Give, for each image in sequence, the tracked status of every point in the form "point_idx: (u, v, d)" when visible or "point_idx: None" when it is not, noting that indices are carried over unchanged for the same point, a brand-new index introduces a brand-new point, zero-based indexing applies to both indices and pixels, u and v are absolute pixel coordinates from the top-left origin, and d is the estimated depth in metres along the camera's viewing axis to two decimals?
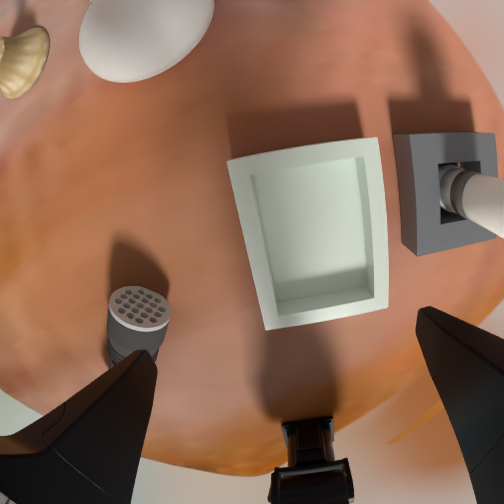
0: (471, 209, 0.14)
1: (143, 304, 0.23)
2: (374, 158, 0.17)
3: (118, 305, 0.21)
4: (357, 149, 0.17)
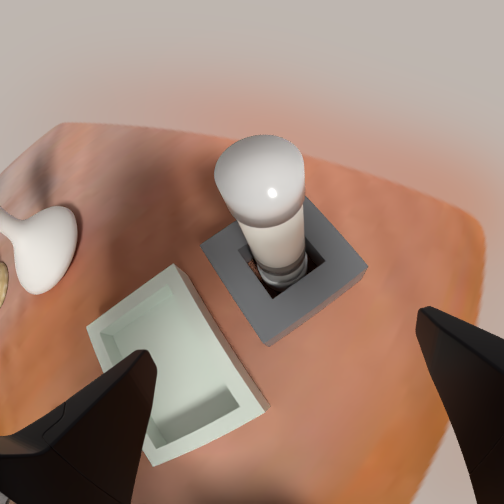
0: (255, 255, 0.18)
1: None
2: (175, 280, 0.22)
3: None
4: (161, 280, 0.22)
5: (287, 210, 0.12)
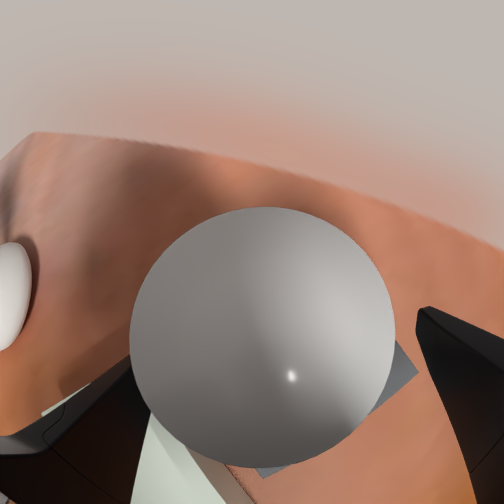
0: None
1: None
2: None
3: None
4: None
5: None
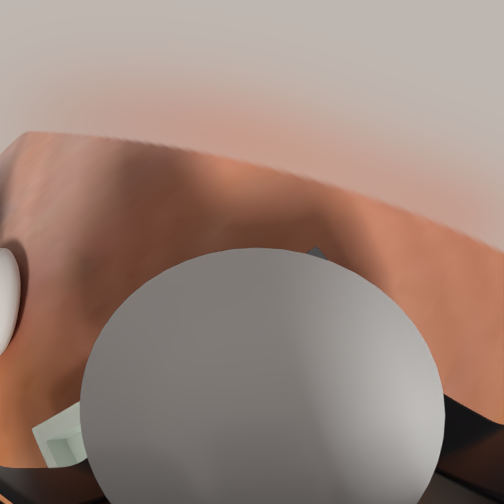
0: None
1: None
2: None
3: None
4: None
5: None
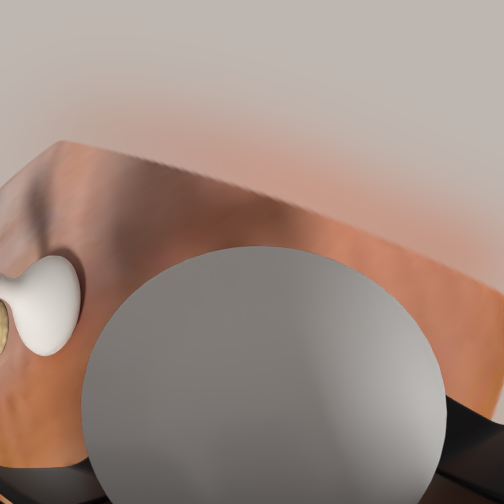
0: None
1: None
2: None
3: None
4: None
5: None
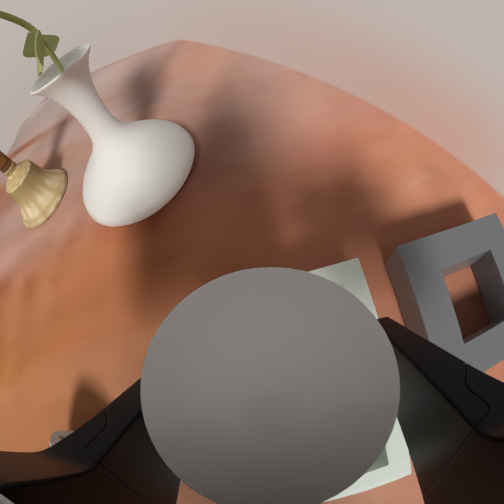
0: None
1: None
2: (357, 282, 0.15)
3: None
4: (335, 276, 0.15)
5: None
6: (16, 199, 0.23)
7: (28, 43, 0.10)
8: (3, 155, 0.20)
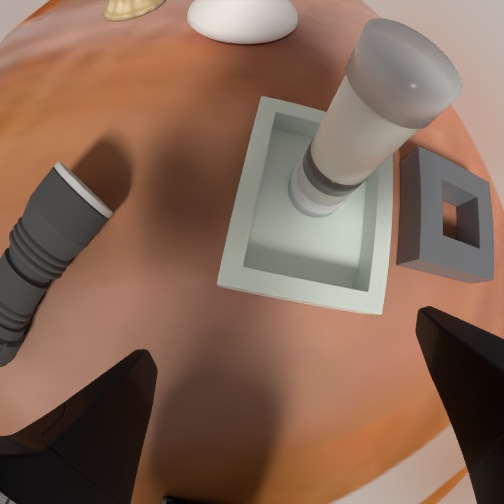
0: (320, 152, 0.13)
1: (88, 190, 0.17)
2: None
3: (65, 167, 0.15)
4: None
5: (425, 116, 0.07)
6: None
7: None
8: None
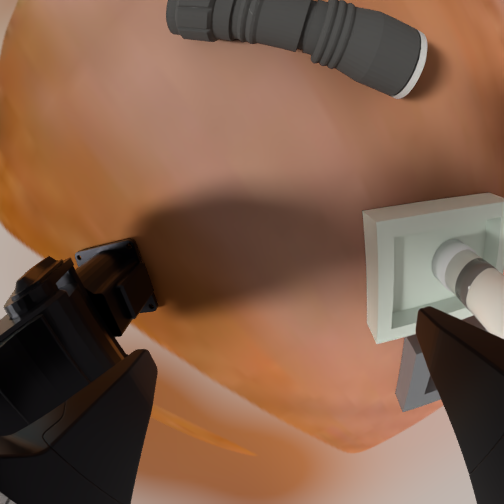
0: (486, 281, 0.13)
1: None
2: None
3: None
4: None
5: None
6: None
7: None
8: None
